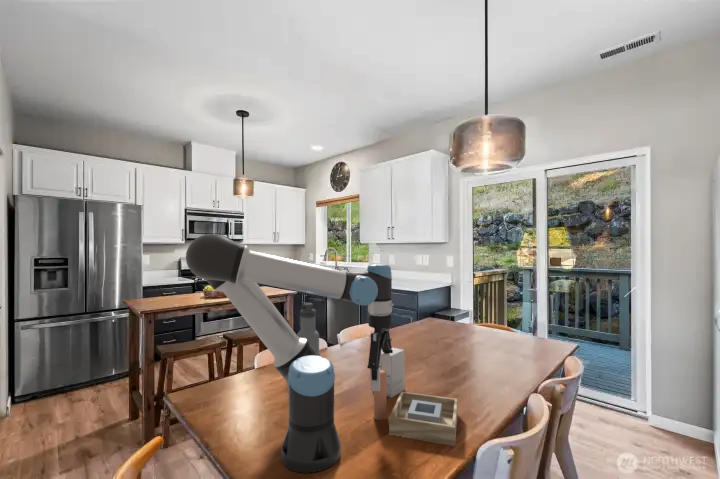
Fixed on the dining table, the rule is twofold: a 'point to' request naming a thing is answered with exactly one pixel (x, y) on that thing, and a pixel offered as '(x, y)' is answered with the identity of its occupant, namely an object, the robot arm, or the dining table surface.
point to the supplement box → (395, 372)
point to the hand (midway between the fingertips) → (381, 381)
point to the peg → (381, 398)
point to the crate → (424, 429)
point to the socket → (425, 411)
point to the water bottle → (308, 325)
